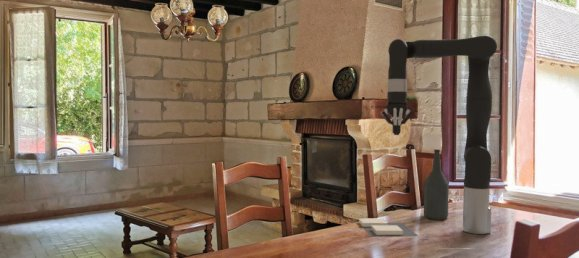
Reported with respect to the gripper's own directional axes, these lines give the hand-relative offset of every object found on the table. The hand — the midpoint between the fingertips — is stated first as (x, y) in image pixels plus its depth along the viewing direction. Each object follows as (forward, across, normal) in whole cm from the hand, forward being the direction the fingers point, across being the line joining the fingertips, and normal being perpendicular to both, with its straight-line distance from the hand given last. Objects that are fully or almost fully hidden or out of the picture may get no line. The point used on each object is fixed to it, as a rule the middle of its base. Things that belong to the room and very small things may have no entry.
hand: (396, 134), depth 184 cm
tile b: (+36, 0, +9) cm, 37 cm away
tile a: (+36, +3, -3) cm, 36 cm away
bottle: (+37, -23, -18) cm, 47 cm away
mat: (+37, +4, +4) cm, 37 cm away
